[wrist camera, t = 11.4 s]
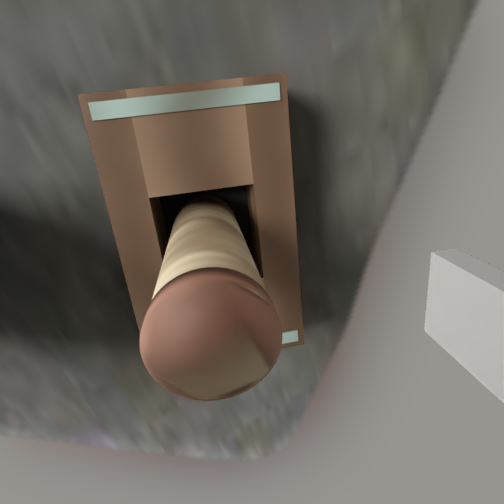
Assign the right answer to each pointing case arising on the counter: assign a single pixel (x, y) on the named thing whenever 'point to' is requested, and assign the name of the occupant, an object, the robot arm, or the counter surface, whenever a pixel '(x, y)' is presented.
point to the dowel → (209, 309)
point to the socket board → (199, 174)
